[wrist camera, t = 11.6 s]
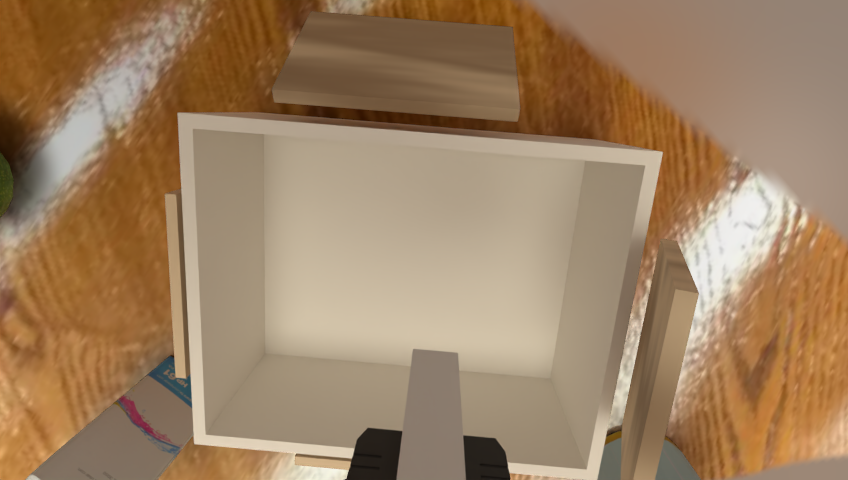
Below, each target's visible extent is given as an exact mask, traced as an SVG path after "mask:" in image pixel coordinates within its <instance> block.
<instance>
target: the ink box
mask: <svg viewBox="0 0 848 480" xmlns="http://www.w3.org/2000/svg"><path fill="white" fill-rule="evenodd" d="M193 435H194V432H193V412H192V392H191V374H190V375H189V376H188V377H187V378H186V379H185V378H176V376H175V359H174V358H173V357H172V356H169V357H168V358H167V359H166V360H164V361H163V362H162V363H161V364H160V365H158V366H157V367H156V368H155V369H154V370H153V371H151V372H150V373H149V374H148V375H147V376H145V377H144V378H143V379H142V380H141V381H140V382H138V383H137V384H136V385H135V386H134V387H132V388H131V389H130V390H129V391H128V392H126V393H125V394H124V395H123V396H122V397H121V398H119V399H118V400H117V401H116V402H115V403H113V404H112V405H111V406H110V407H109V408H107V409H106V410H105V411H104V412H103V413H101V414H100V415H99V416H98V417H97V418H95V419H94V420H93V421H92V422H91V423H90V424H88V425H87V426H86V427H85V428H83V429H82V430H81V431H80V432H79V433H78V434H76V435H75V436H74V437H73V438H72V439H70V440H69V441H68V442H67V443H66V444H65V445H63V446H62V447H61V448H60V449H59V450H58V451H56V452H55V453H54V454H53V455H52V456H51V457H49V458H48V459H47V460H46V461H45V462H44V463H43V464H42V465H40V466H39V467H38V468H37V469H36V470H35V471H34V472H33V473H31V474H30V475H29V476H28V477H27V479H26V480H157V479H158V478H159V477H160V476H161V475H162V473H163V472H164V471H165V470H166V468H167V467H168V466H169V465H170V463H171V462H172V461H173V460H174V458H175V457H176V456H177V455H178V453H179V452H180V451H181V450H182V448H183V447H184V446H185V445H186V443H187V442H188V441H189V440H190V438H191V437H192V436H193Z"/></svg>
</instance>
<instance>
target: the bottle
mask: <svg viewBox="0 0 848 480" xmlns="http://www.w3.org/2000/svg"><path fill="white" fill-rule="evenodd" d="M621 441H622V431H618V432H615V433H613V434H611V435H609V436H607V437H606V439H605V444H604V449H603V454H602V459H601V464H600V469H599V474H598V479H597V480H621ZM655 480H701V479H700V478H699V476H698V475H697V473H696V472H695V470H694V469H693V468H692V466H691V465H690V463H689V462H688V460H687V459H686V458H685V456H684V455H683V453H682V452H681V451H680V450H679V448H678V447H677V446H676V445H675V444H674V443H673V442H672V441H671V440H670V439H668V438H667V437H665V439H664V443H663V447H662V451H661V456H660V460H659V464H658V468H657V473H656V477H655Z"/></svg>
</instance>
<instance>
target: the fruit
mask: <svg viewBox="0 0 848 480" xmlns="http://www.w3.org/2000/svg"><path fill="white" fill-rule="evenodd" d="M13 182H14V180H13V176H12V173H11V169H10V165H9V163H8V162H7V160H6V159H5V158H4V156H3V155H2V154H1V152H0V217H1V216H2V215H3V214H4V213H5V212H6V211H7V209H8V207H9V205H10V202H11V200H12V198H13Z"/></svg>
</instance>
